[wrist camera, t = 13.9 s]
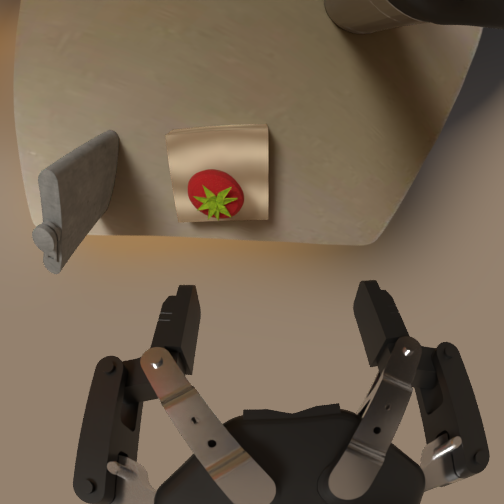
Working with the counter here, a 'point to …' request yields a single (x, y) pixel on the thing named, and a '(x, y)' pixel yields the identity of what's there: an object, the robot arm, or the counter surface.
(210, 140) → the plinth
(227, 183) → the strawberry
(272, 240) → the counter surface
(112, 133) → the hip flask
